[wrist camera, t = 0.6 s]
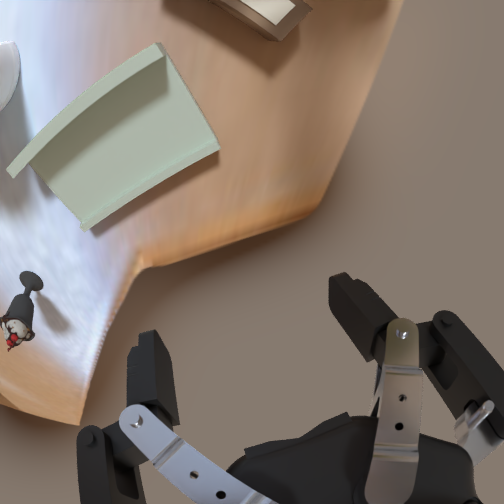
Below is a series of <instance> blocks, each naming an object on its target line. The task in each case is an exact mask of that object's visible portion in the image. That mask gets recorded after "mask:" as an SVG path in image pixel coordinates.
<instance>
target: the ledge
mask: <svg viewBox="0 0 504 504" xmlns="http://www.w3.org/2000/svg"><path fill="white" fill-rule="evenodd" d="M219 149H221V147H220V144H219V141H218V139H217V137H216V135H215V133H214V132H213V130H212V128H211V126H210V125H209V123H208V121H207V119H206V118H205V116H204V114H203V112H202V111H201V109H200V107H199V106H198V104H197V102H196V100H195V99H194V97H193V95H192V94H191V92H190V90H189V89H188V87H187V85H186V83H185V82H184V80H183V78H182V77H181V75H180V73H179V72H178V70H177V68H176V67H175V65H174V63H173V62H172V60H171V58H170V57H169V55H168V53H167V52H166V50H165V49H164V47H163V45H162V44H161V42H159V43H154V44H152V45H151V46H149V47H147V48H146V49H144V50H142V51H141V52H139V53H138V54H136V55H134V56H133V57H131V58H130V59H128V60H127V61H125V62H124V63H122V64H121V65H119V66H118V67H116V68H115V69H114V70H112V71H111V72H109V73H108V74H107V75H105V76H104V77H102V78H101V79H100V80H98V81H97V82H96V83H94V84H93V85H92V86H91V87H89V88H88V89H87V90H86V91H84V92H83V93H82V94H81V95H79V96H78V97H77V98H76V99H75V100H73V101H72V102H71V103H70V104H69V105H68V106H67V107H65V108H64V109H63V110H62V111H61V112H60V113H59V114H58V115H57V116H55V117H54V118H53V119H52V120H51V121H50V122H49V123H48V124H47V125H46V126H45V127H44V128H43V129H42V130H41V131H40V132H39V133H38V134H37V135H36V136H35V137H34V138H33V139H32V140H31V141H30V142H29V143H28V145H27V146H26V147H25V148H24V149H23V150H22V151H21V152H20V153H19V155H18V156H17V157H16V158H15V159H14V160H13V161H12V163H11V164H10V165H9V166H8V167H7V169H6V170H7V172H8V173H9V174H10V175H11V176H12V178H13V179H14V178H15V177H16V175H17V174H18V173H19V172H20V171H21V170H22V169H23V168H24V167H25V165H26V164H27V163H29V165H30V166H31V167H32V168H33V169H34V171H35V172H36V173H37V174H38V175H39V176H40V178H41V179H42V180H43V181H44V182H45V183H46V185H47V186H48V187H49V188H50V189H51V190H52V191H53V193H54V194H55V195H56V196H57V197H58V198H59V199H60V200H61V201H62V202H63V204H64V205H65V206H66V207H67V208H68V209H69V210H70V211H71V212H72V213H73V214H74V215H75V216H76V217H77V219H78V220H79V221H80V222H81V225H80V228H81V229H82V230H83V231H84V232H86V231H87V230H88V229H90V228H91V227H93V226H94V225H95V224H97V223H98V222H100V221H101V220H103V219H104V218H105V217H107V216H108V215H110V214H111V213H113V212H114V211H116V210H117V209H119V208H120V207H122V206H123V205H125V204H126V203H128V202H129V201H131V200H133V199H134V198H136V197H137V196H139V195H140V194H142V193H144V192H145V191H147V190H148V189H150V188H152V187H153V186H155V185H157V184H158V183H160V182H162V181H163V180H165V179H167V178H168V177H170V176H172V175H174V174H175V173H177V172H179V171H181V170H182V169H184V168H186V167H188V166H189V165H191V164H193V163H195V162H197V161H198V160H200V159H202V158H204V157H206V156H208V155H210V154H212V153H213V152H215V151H217V150H219Z"/></svg>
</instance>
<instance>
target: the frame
mask: <svg viewBox="0 0 504 504" xmlns="http://www.w3.org/2000/svg"><path fill="white" fill-rule="evenodd" d="M208 1H210V2H211V3H213V4H215V5H217V6H218V7H220V8H222V9H223V10H225V11H226V12H228V13H230V14H231V15H233V16H234V17H236V18H237V19H239V20H240V21H242V22H243V23H245V24H246V25H248V26H249V27H251V28H252V29H254V30H255V31H256V32H258V33H259V34H261V35H262V36H263V37H265V38H266V39H267V40H269V41H282V40H283V39H284V38H285V37H286V36H287V34H288V33H289V32H290V31H291V30H292V29H293V28H294V27H295V26H296V25H297V24H298V23H299V22H300V21H301V20H302V19H303V18H304V17H305V16H306V15H307V14H308V13H309V12H310V11H311V10H312V8H311V7H310V6H309V5H307V4H306V3H305V2H304V1H303V0H208Z"/></svg>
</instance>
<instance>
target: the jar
mask: <svg viewBox="0 0 504 504" xmlns="http://www.w3.org/2000/svg"><path fill="white" fill-rule="evenodd" d="M19 71H20V58H19V52H18V48H17V46H16V44H15V42H14V41H4V42H0V111H1V110H2V109H3V108H4V107H5V106H6V105H7V103H8V102H9V100H10V99H11V97H12V95H13V93H14V91H15V88H16V85H17V82H18V77H19Z"/></svg>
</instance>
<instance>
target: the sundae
mask: <svg viewBox="0 0 504 504" xmlns="http://www.w3.org/2000/svg"><path fill="white" fill-rule="evenodd" d="M20 281H21V283H22V284H23V285H24V286H25V291H24V294H19V295H17V296H15V297H14V299H13V301H12V302H11V305H10V307H9V309H8V311H7V313H6V314H5V315H4V316H3V317H0V326H1V328H2V330H3V331H4V336H5V339H6V341H7V345H8V346H10V348H8V352H9V350H10V349H11V348H14V347H15V346H18V345H20V344H21V342H22V341H30V340H32V339H33V338H34V337H35V333H34V332H33V331H32V320H33V313H34V304H33V302H32V300H31V298H30V297H29V296H30V293H31V291H38V290H41V289H42V287H43V282H42V280H41V279H40V277H39V276H37V275H36V274H35V273H33V272H29V271H24V272H22V273H21V274H20Z"/></svg>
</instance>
